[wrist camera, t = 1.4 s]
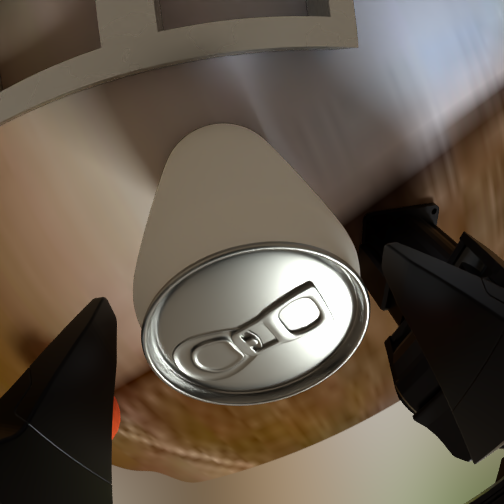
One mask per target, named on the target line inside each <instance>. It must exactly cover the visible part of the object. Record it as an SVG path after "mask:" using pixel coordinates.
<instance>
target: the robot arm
mask: <svg viewBox="0 0 504 504" xmlns="http://www.w3.org/2000/svg"><path fill="white" fill-rule="evenodd" d="M432 210H433V211H432ZM438 213H439V207H438V206H437V205H436V204H434V203H428V204H422V205H415V206H409V207H403V208H397V209H390V210H384V211H378V212H372V213H368V214H367V215H366V216H365V217H364V220H363V233H362V243H361V245H360V247H359V259H358V260H359V266H360V277H361V279H362V280H363V282H364V284H365V286H366V288H367V291H369V293H370V294H371V295H372V297H373V298H374V300H375V301H376V303H377V304H378V306H379V307H380V309H382V310H383V311H385V310H388V311H389V313H390V314H391V315H392V317H393V318H394V320H395V321H396V323H397V324H398V326H399V327H398V328H397V330H396V331H395V332H394V333H393V334H392V336H389V337H388V338H387V340H386V341H385V342H384V343H385V347H386V351H387V355H388V359H389V363H390V368H391V372H392V376H393V381H394V385H395V389H396V392H397V394H398V398H399V399H400V400H401V401H402V403H403V404H404V405H405V406H406V407H407V408H408V410H410V411H411V412H412V413H413V414H414V415H413V419H414V420H415V421H416V422H418V423H420V424H422V425H423V426H425V427H427V428H428V429H429V430H430V431H432V432H433V433H434V434H435V435H436V436H437V437H438V438H439V439H440V440H441V441H442V442H443V443H444V445H445V446H446V447H447V449H448V450H449V451H450V452H451V453H452V455H453V456H455V457H457V458H459V459H462V460H464V461H468V462H469V461H471V460H473V463H474V464H476V463H478V462H479V461H481V460H483V459H484V458H485V457H487V456H488V455H490V454H491V453H493V452H494V451H495V450H497V449H498V448H499V449H504V261H503V260H502V259H501V258H500V257H498V256H497V255H496V254H495V253H494V252H493V251H491V250H490V249H488V248H487V247H486V246H484V245H483V244H482V243H480V242H479V241H477V240H476V239H475V238H473V237H472V236H470V235H469V234H467V233H466V232H463V234H462V235H461V237H460V241H459V243H458V244H457V243H456V242H455V241H454V240H453V239H451V238H450V237H449V236H448V235H447V234H446V233H444V232H443V231H442V230H441V229H440V228H439V227H437V226H436V225H437V219H438ZM371 219H373V221H372V222H370V220H371ZM369 222H370V223H369ZM116 364H117V320H116V316H115V314H114V312H113V310H112V308H111V306H110V304H109V302H108V300H107V299H106V298H105V297H100V298H95V299H93V300H92V301H91V302H90V303H89V304H88V305H87V306H86V307H85V308H84V309H83V310H82V311H81V312H80V313H79V314H78V315H77V316H76V317H75V318H74V319H73V320H72V321H71V322H70V323H69V324H68V325H67V326H66V327H65V328H64V329H63V330H62V332H61V333H60V334H59V335H58V336H57V337H56V338H55V339H54V340H53V341H52V342H51V343H50V344H49V345H48V347H47V348H46V349H45V350H44V351H43V352H42V353H41V354H40V355H39V356H38V358H37V359H36V360H35V361H34V362H33V363H32V364H31V365H30V368H28V369H27V370H26V371H25V372H24V373H23V375H22V376H21V377H20V378H19V379H18V380H17V381H16V382H15V383H14V385H13V386H12V387H11V388H10V389H9V390H8V391H7V392H6V393H5V394H4V395H3V396H2V397H1V398H0V504H113V501H112V485H111V484H112V472H111V458H112V420H113V402H114V388H115V376H116ZM465 504H504V457H503V458H502V460H501V464H500V468H499V472H498V475H497V479H496V482H495V483H494V484H493V485H492V486H490V487H489V488H487V489H486V490H484V491H483V492H482V493H480V494H479V495H477V496H476V497H474V498H473V499H471V500H469V501H468V502H466V503H465Z"/></svg>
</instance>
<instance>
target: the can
mask: <svg viewBox="0 0 504 504" xmlns="http://www.w3.org/2000/svg"><path fill="white" fill-rule="evenodd" d="M133 302H134V308H135V312H136V316H137V319H138V321H139V324H140V326H141V329H142V330H141V342H142V348H143V352H144V355H145V358H146V360H147V362H148V364H149V365H150V367H151V369H152V370H153V371H154V372H155V374H156V375H157V376H158V377H159V378H160V379H161V380H162V381H163V382H165V383H166V384H167V385H168V386H170V387H171V388H173V389H174V390H176V391H178V392H180V393H182V394H184V395H186V396H188V397H191V398H194V399H197V400H200V401H204V402H208V403H213V404H220V405H233V406H242V405H256V404H263V403H269V402H273V401H277V400H281V399H284V398H288V397H291V396H293V395H296V394H298V393H301V392H303V391H305V390H307V389H309V388H311V387H313V386H315V385H317V384H319V383H320V382H322V381H323V380H325V379H326V378H328V377H329V376H331V375H332V374H333V373H334V372H336V371H337V370H338V369H339V368H340V367H341V366H342V365H343V364H344V363H345V362H346V361H347V360H348V359H349V358H350V357H351V356H352V355H353V353H354V352H355V351H356V349H357V348H358V346H359V344H360V343H361V341H362V339H363V337H364V335H365V332H366V330H367V327H368V323H369V318H370V299H369V295H368V291H367V288H366V286H365V284H364V282H363V280H362V279H361V277H360V266H359V260H358V256H357V252H356V249H355V247H354V245H353V242H352V241H351V239H350V237H349V235H348V233H347V232H346V230H345V229H344V227H343V226H342V224H341V223H340V222H339V221H338V219H337V218H336V217H335V215H334V214H333V213H332V212H331V211H330V209H329V208H328V207H327V206H326V205H325V204H324V202H323V201H322V200H321V199H320V198H319V197H318V195H317V194H316V193H315V192H314V191H313V190H312V189H311V188H310V186H309V185H308V184H307V183H306V182H305V181H304V180H303V179H302V178H301V177H300V175H299V174H298V173H297V172H296V171H295V170H294V169H293V168H292V167H291V166H290V165H289V164H288V163H287V162H286V161H285V159H284V158H283V157H282V156H281V155H280V154H279V153H278V152H277V151H276V150H275V149H274V148H273V147H272V146H271V145H270V144H269V143H268V142H267V141H266V140H264V139H263V138H262V137H261V136H260V135H258V134H257V133H255V132H254V131H252V130H250V129H248V128H245V127H242V126H239V125H235V124H225V123H222V124H212V125H208V126H205V127H202V128H199V129H197V130H195V131H193V132H191V133H190V134H188V135H187V136H186V137H184V138H183V139H182V140H181V141H180V142H179V143H178V144H177V145H176V147H175V148H174V149H173V151H172V152H171V154H170V156H169V158H168V160H167V162H166V165H165V167H164V170H163V173H162V176H161V179H160V182H159V185H158V188H157V191H156V194H155V197H154V201H153V204H152V207H151V210H150V214H149V217H148V221H147V224H146V228H145V232H144V235H143V239H142V243H141V247H140V251H139V255H138V259H137V264H136V269H135V275H134V283H133Z"/></svg>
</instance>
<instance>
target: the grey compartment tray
mask: <svg viewBox="0 0 504 504" xmlns="http://www.w3.org/2000/svg"><path fill="white" fill-rule="evenodd" d="M95 2H96V11H97V20H98V28H99V35H100V42H101V48H99V49H96V50H93V51H90V52H88V53H85V54H82V55H79V56H77V57H74V58H71V59H69V60H66V61H64V62H62V63H59V64H57V65H54V66H52V67H50V68H47V69H45V70H43V71H41V72H39V73H36V74H34V75H32V76H30V77H28V78H26V79H24V80H22V81H20V82H18V83H16V84H14V85H12V86H10V87H9V88H7V89H5V90H3V88H2V83H1V76H0V126H1V125H3V124H5V123H7V122H9V121H11V120H13V119H15V118H17V117H19V116H21V115H23V114H25V113H28V112H30V111H32V110H34V109H36V108H39V107H41V106H43V105H46V104H48V103H50V102H53V101H55V100H58V99H60V98H63V97H66V96H68V95H71V94H73V93H76V92H79V91H82V90H85V89H87V88H90V87H93V86H96V85H99V84H103V83H106V82H109V81H112V80H116V79H119V78H122V77H126V76H130V75H133V74H137V73H141V72H145V71H149V70H153V69H157V68H162V67H166V66H171V65H175V64H180V63H186V62H191V61H197V60H202V59H209V58H215V57H222V56H230V55H238V54H247V53H258V52H270V51H287V50H336V49H347V48H358V37H357V28H356V19H355V11H354V3H353V0H306V5H307V12H308V16H277V17H257V18H244V19H234V20H225V21H217V22H209V23H203V24H196V25H190V26H185V27H179V28H174V29H169V30H165V31H164V30H163V22H162V15H161V8H160V0H95Z"/></svg>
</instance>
